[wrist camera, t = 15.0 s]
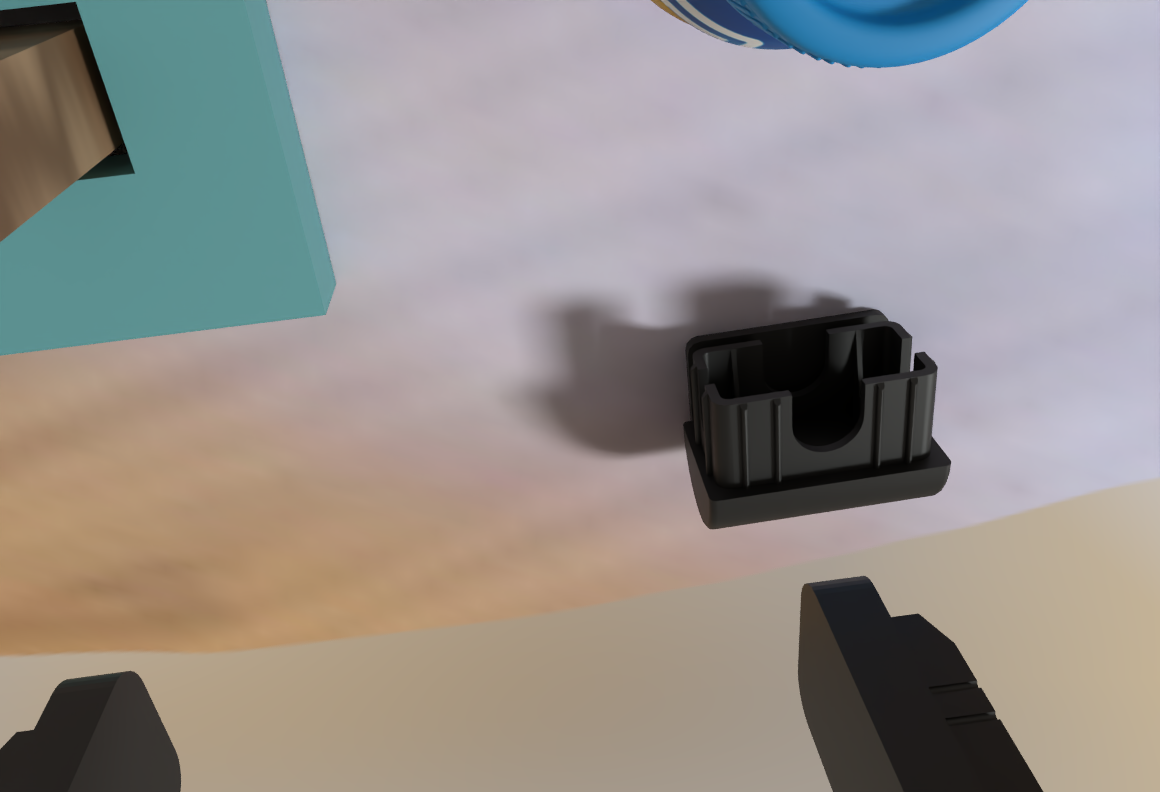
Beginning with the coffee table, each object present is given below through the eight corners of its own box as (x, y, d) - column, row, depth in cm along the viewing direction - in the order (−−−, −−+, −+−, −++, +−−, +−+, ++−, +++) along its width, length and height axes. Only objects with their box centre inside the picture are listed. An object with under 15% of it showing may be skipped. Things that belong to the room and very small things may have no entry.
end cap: (683, 468, 45) (713, 560, 39) (673, 338, 41) (705, 418, 35) (887, 437, 45) (947, 523, 39) (894, 305, 41) (962, 379, 36)
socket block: (-316, -188, 29) (-394, -192, 26) (205, -243, 29) (178, -252, 27) (-57, 332, 38) (-97, 367, 35) (336, 283, 38) (325, 314, 36)
